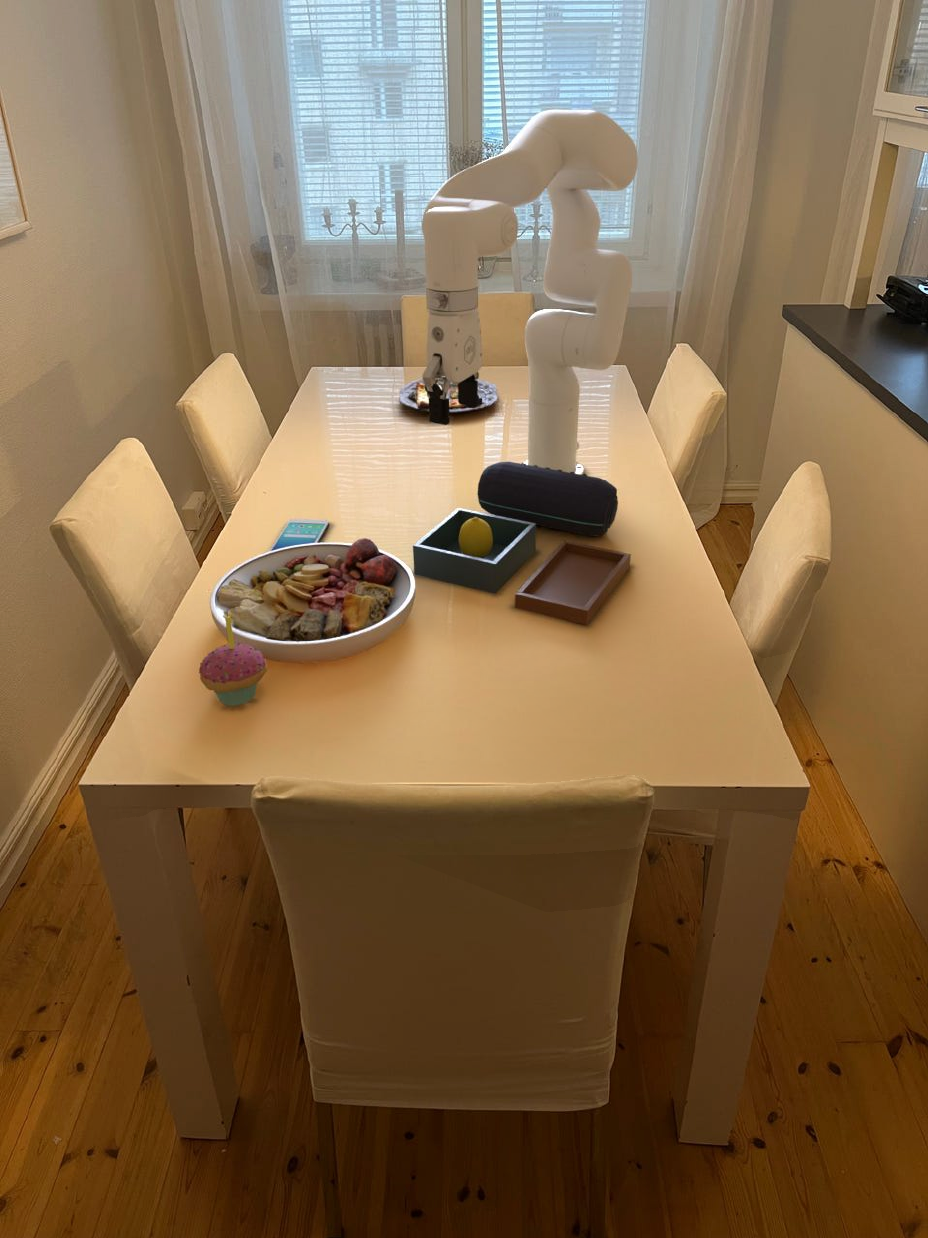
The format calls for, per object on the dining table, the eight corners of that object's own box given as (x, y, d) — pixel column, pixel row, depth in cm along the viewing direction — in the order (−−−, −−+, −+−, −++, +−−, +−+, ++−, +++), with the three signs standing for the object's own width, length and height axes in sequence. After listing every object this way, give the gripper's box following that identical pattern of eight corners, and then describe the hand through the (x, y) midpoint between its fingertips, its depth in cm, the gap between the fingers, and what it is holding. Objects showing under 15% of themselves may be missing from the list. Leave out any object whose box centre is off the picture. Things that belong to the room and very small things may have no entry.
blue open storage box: (458, 535, 162) (457, 507, 159) (535, 551, 156) (536, 523, 153) (414, 574, 150) (412, 545, 147) (495, 594, 144) (495, 564, 142)
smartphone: (330, 519, 166) (307, 559, 153) (330, 524, 166) (308, 563, 154) (289, 518, 167) (264, 557, 154) (290, 522, 167) (264, 561, 155)
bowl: (332, 699, 122) (326, 649, 118) (171, 636, 136) (161, 589, 132) (454, 598, 143) (453, 553, 139) (305, 553, 157) (300, 511, 153)
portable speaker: (624, 526, 164) (628, 473, 158) (604, 549, 156) (607, 495, 151) (497, 500, 174) (496, 449, 169) (472, 521, 167) (471, 469, 161)
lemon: (489, 570, 150) (489, 526, 146) (456, 567, 151) (455, 523, 147) (495, 554, 155) (495, 511, 151) (462, 552, 156) (462, 508, 152)
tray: (563, 553, 156) (563, 539, 154) (629, 567, 151) (630, 553, 150) (514, 607, 141) (514, 593, 139) (586, 625, 136) (587, 610, 135)
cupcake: (210, 679, 126) (195, 603, 120) (273, 675, 127) (262, 599, 121) (200, 717, 119) (184, 639, 113) (267, 713, 120) (254, 635, 113)
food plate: (498, 419, 211) (498, 404, 209) (396, 420, 212) (395, 405, 210) (496, 384, 232) (496, 371, 231) (403, 386, 233) (403, 372, 231)
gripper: (448, 314, 127) (450, 434, 136) (500, 290, 140) (499, 400, 149) (400, 309, 130) (405, 427, 139) (455, 286, 143) (457, 394, 152)
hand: (454, 413), depth 144 cm, fingers open, 9 cm apart
